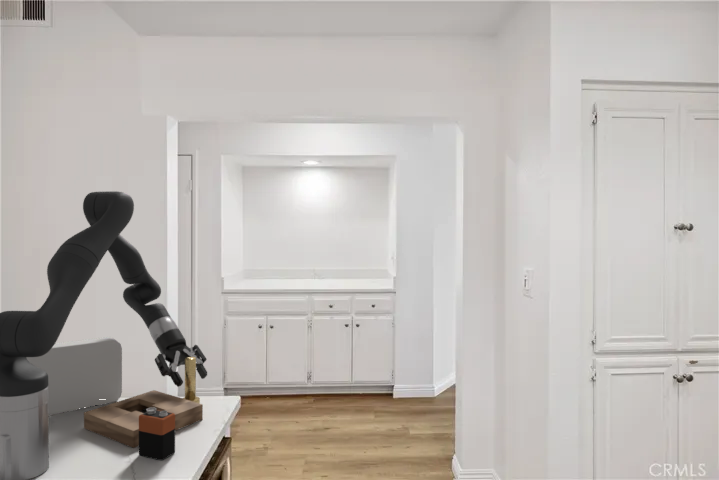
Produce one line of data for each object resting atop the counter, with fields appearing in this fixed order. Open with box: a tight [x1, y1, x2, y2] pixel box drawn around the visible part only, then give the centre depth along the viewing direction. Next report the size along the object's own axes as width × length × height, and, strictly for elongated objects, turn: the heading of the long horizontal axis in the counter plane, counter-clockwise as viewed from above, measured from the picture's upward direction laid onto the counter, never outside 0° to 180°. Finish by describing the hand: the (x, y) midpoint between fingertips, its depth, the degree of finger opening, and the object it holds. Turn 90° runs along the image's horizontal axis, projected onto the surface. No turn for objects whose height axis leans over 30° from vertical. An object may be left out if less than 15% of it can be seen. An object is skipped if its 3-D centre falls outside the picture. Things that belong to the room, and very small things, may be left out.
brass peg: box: [183, 357, 201, 404], centre depth 142 cm, size 5×5×13 cm
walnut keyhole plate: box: [83, 389, 204, 449], centre depth 127 cm, size 20×20×4 cm
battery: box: [138, 407, 176, 461], centre depth 111 cm, size 4×7×10 cm, turn 70°
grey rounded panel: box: [26, 336, 123, 416], centre depth 137 cm, size 29×8×18 cm, turn 129°
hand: (193, 380), depth 141 cm, fingers open, 8 cm apart
